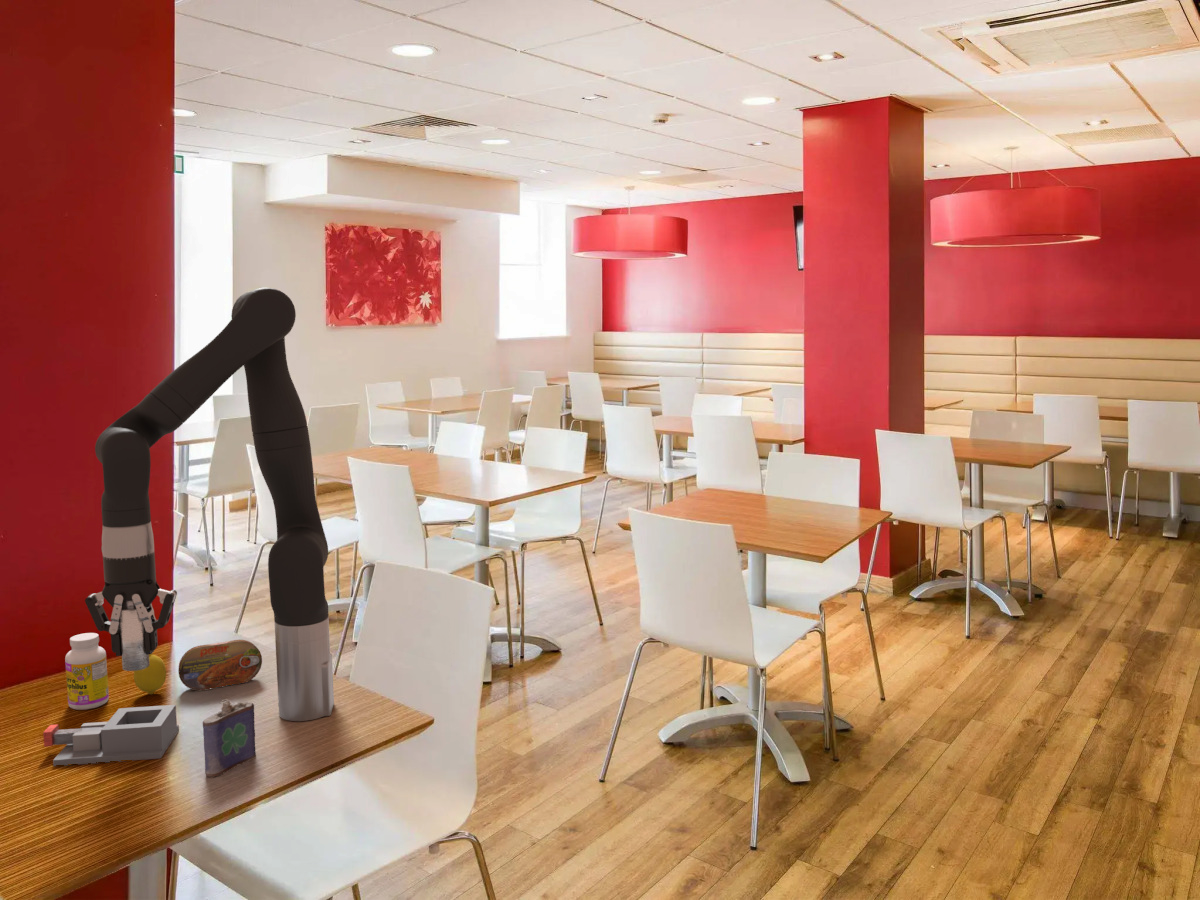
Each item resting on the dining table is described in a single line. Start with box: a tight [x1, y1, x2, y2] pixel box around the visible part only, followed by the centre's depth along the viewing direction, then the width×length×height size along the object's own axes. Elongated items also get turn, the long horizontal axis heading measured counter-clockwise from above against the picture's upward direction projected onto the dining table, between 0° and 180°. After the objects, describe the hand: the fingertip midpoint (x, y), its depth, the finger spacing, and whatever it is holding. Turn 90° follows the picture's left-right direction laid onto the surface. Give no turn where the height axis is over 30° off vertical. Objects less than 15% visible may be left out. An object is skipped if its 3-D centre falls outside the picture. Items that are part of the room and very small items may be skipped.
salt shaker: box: [120, 600, 150, 672], centre depth 157 cm, size 4×4×12 cm
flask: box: [202, 698, 257, 779], centre depth 152 cm, size 9×3×11 cm, turn 151°
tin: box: [177, 639, 263, 692], centre depth 186 cm, size 15×3×8 cm, turn 117°
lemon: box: [133, 653, 167, 695], centre depth 182 cm, size 6×6×8 cm
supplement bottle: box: [64, 632, 110, 711], centre depth 177 cm, size 7×7×13 cm
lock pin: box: [42, 724, 103, 747], centre depth 157 cm, size 9×3×2 cm, turn 99°
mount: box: [52, 704, 180, 767], centre depth 159 cm, size 16×11×5 cm
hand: (135, 653), depth 158 cm, fingers closed on salt shaker, 4 cm apart
